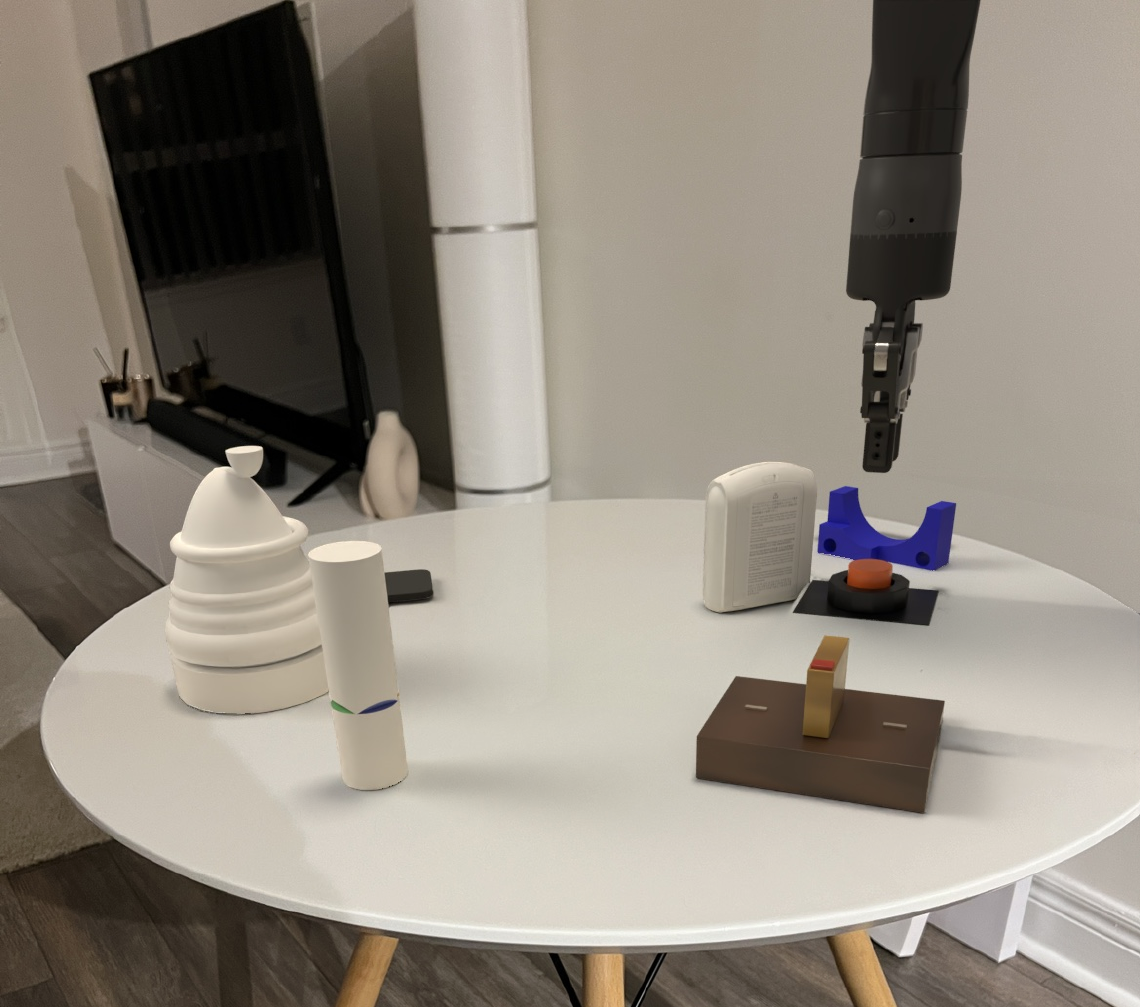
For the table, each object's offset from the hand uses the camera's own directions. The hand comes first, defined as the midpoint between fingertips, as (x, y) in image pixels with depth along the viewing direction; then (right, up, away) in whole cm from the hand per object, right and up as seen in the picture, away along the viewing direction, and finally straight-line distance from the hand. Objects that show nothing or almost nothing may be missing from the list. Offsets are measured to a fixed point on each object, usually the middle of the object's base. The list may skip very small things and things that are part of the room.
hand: (880, 464), depth 86 cm
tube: (-38, -25, -16) cm, 48 cm away
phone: (-46, -8, +17) cm, 49 cm away
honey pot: (-49, -18, -1) cm, 53 cm away
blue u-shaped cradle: (+6, -4, +21) cm, 22 cm away
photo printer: (-8, -10, +11) cm, 17 cm away
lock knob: (-9, -21, -18) cm, 29 cm away
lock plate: (-9, -24, -16) cm, 30 cm away
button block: (+1, -12, +6) cm, 13 cm away
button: (0, -9, +5) cm, 10 cm away
